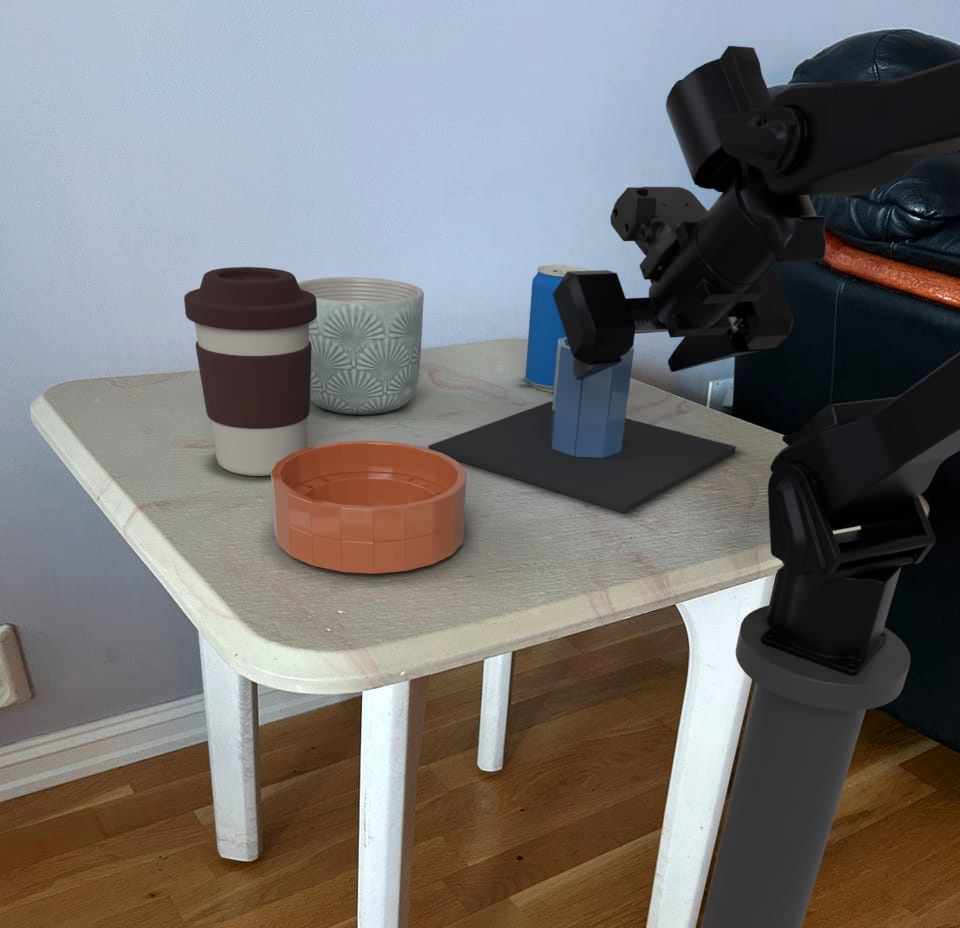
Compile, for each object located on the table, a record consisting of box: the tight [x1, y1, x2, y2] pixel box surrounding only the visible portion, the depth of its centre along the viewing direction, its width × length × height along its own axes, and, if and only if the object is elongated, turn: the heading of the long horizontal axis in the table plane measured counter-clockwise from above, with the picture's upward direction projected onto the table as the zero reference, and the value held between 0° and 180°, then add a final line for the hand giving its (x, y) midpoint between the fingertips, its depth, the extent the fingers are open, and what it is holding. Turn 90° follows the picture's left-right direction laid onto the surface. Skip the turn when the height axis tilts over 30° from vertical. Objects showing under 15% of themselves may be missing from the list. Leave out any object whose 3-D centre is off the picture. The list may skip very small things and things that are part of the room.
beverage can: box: [524, 264, 592, 393], centre depth 104 cm, size 6×6×12 cm
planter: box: [297, 276, 425, 416], centre depth 95 cm, size 12×12×11 cm
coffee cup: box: [183, 266, 317, 477], centre depth 78 cm, size 10×10×15 cm
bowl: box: [270, 439, 467, 575], centre depth 69 cm, size 13×13×5 cm
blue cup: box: [550, 337, 635, 458], centre depth 86 cm, size 6×6×9 cm
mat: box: [427, 400, 737, 514], centre depth 88 cm, size 20×20×1 cm
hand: (624, 370), depth 81 cm, fingers open, 9 cm apart
